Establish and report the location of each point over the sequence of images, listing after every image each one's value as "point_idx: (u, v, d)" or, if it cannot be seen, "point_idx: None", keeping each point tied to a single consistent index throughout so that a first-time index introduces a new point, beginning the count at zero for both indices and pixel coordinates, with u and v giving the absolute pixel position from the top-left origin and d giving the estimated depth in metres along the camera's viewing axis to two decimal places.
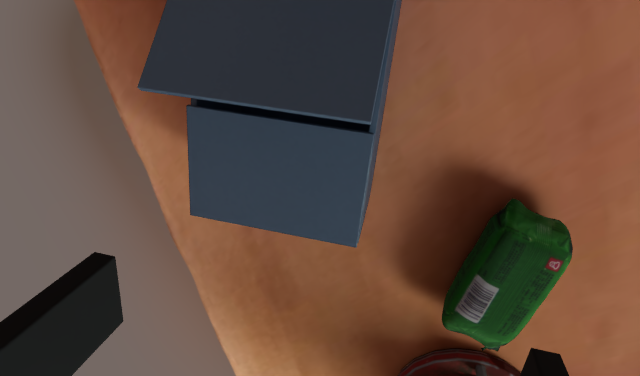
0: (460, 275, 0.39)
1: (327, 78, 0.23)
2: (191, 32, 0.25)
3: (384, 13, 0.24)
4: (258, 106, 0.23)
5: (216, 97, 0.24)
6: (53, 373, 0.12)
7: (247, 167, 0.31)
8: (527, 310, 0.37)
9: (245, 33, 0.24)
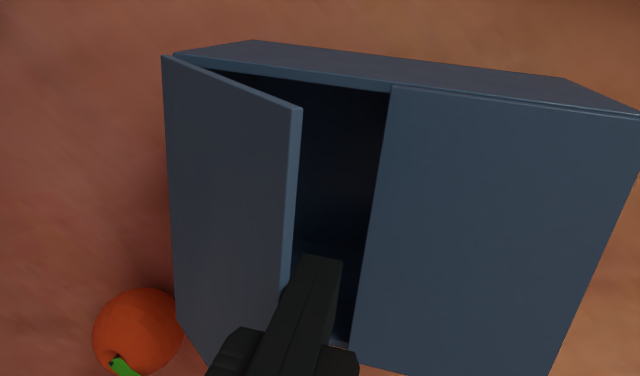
0: None
1: (245, 179, 0.13)
2: (219, 347, 0.18)
3: (183, 75, 0.15)
4: None
5: None
6: None
7: (448, 301, 0.18)
8: None
9: (214, 281, 0.17)
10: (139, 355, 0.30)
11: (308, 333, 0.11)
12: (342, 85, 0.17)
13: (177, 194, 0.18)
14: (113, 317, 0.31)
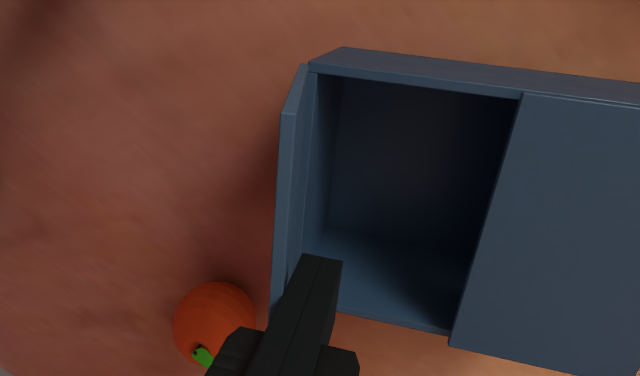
0: None
1: None
2: None
3: None
4: (272, 315, 0.13)
5: None
6: None
7: (555, 290, 0.20)
8: None
9: None
10: (221, 345, 0.32)
11: (308, 333, 0.11)
12: (470, 92, 0.18)
13: None
14: (196, 309, 0.32)
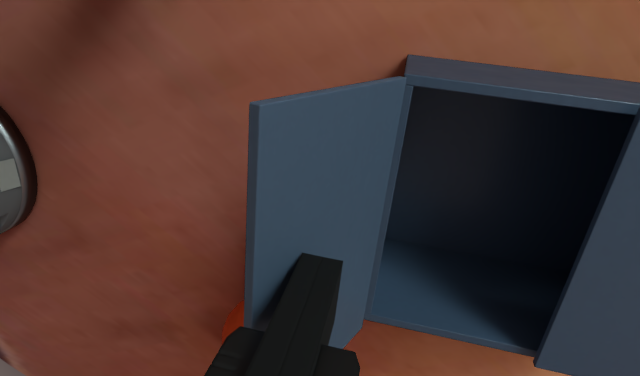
0: None
1: None
2: None
3: None
4: (246, 299, 0.13)
5: None
6: None
7: None
8: None
9: None
10: None
11: (308, 333, 0.11)
12: (579, 106, 0.17)
13: None
14: None
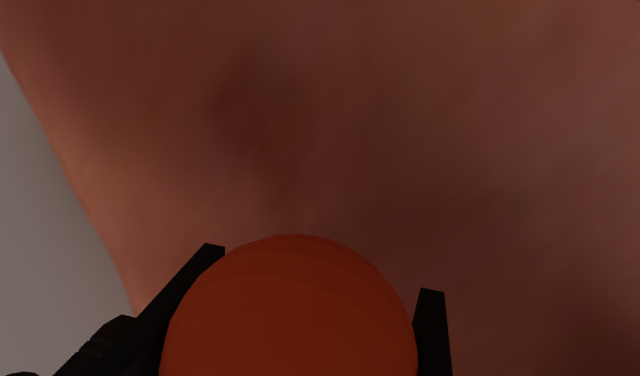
0: None
1: None
2: None
3: None
4: None
5: None
6: None
7: None
8: None
9: None
10: None
11: None
12: None
13: None
14: None
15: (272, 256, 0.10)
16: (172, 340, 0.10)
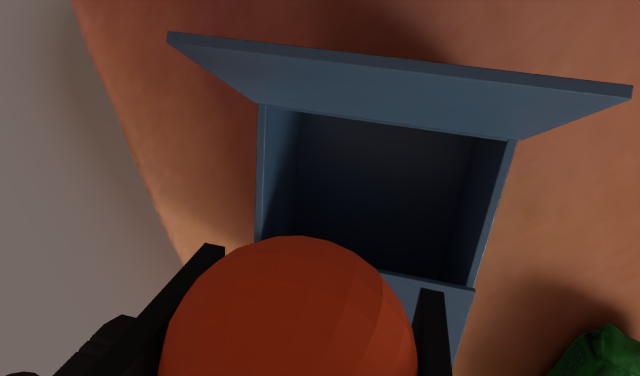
0: None
1: None
2: None
3: None
4: (398, 62, 0.12)
5: (316, 50, 0.13)
6: None
7: None
8: None
9: None
10: None
11: None
12: (475, 255, 0.24)
13: None
14: None
15: (271, 258, 0.10)
16: (171, 342, 0.10)
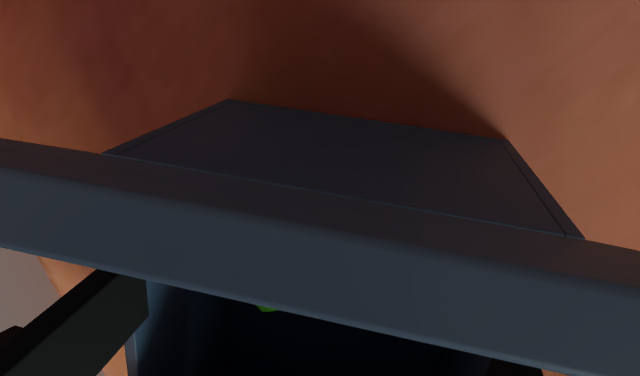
0: None
1: None
2: None
3: None
4: (122, 219, 0.02)
5: None
6: (87, 364, 0.12)
7: None
8: None
9: (190, 174, 0.07)
10: None
11: None
12: None
13: None
14: None
15: None
16: None
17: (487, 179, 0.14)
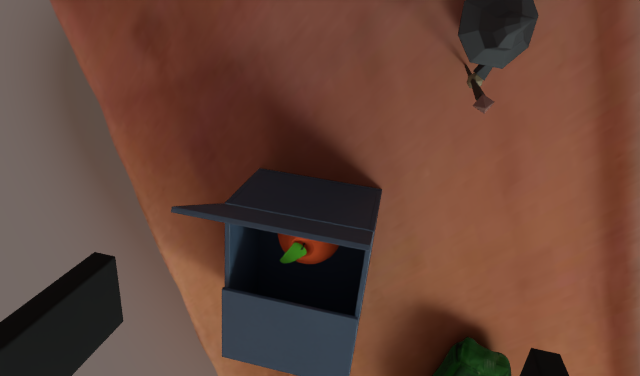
0: None
1: (331, 233, 0.29)
2: (224, 209, 0.32)
3: (367, 233, 0.33)
4: (274, 228, 0.27)
5: (239, 220, 0.28)
6: (53, 373, 0.12)
7: (266, 331, 0.42)
8: None
9: (266, 217, 0.32)
10: (309, 261, 0.42)
11: None
12: (358, 297, 0.39)
13: (305, 220, 0.35)
14: None
15: None
16: None
17: (357, 210, 0.39)
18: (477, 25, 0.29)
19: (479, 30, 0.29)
